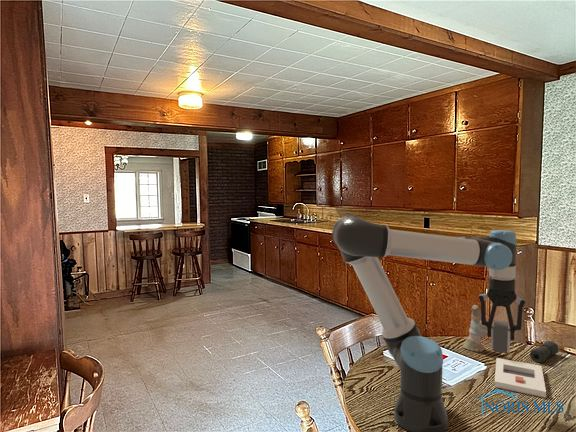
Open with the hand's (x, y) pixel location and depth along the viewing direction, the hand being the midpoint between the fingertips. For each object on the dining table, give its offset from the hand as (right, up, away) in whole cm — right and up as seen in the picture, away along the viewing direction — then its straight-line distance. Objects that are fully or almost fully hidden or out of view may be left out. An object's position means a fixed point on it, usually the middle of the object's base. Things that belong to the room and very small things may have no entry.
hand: (500, 347), depth 127 cm
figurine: (+11, -14, +40) cm, 44 cm away
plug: (0, 0, 0) cm, 0 cm away
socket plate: (+14, -16, +13) cm, 25 cm away
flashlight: (+35, -15, +31) cm, 50 cm away
